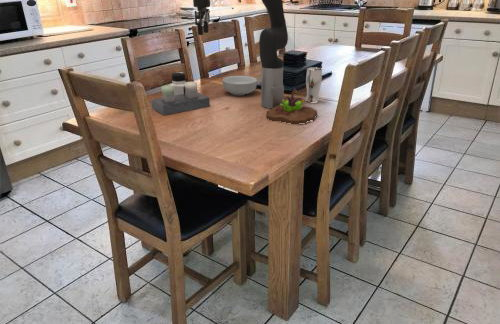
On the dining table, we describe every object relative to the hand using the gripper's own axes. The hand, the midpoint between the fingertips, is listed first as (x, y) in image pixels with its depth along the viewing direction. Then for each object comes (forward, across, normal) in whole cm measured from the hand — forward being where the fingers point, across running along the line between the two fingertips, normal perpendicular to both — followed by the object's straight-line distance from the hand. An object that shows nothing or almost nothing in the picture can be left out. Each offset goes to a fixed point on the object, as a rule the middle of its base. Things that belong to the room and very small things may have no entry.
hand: (203, 33), depth 185 cm
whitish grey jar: (+25, -19, +1) cm, 31 cm away
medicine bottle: (+28, -9, +10) cm, 32 cm away
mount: (+28, -23, +5) cm, 37 cm away
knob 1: (+25, -27, +8) cm, 38 cm away
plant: (+30, -25, -44) cm, 59 cm away
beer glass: (+29, -2, -51) cm, 59 cm away
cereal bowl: (+29, +5, -16) cm, 33 cm away
